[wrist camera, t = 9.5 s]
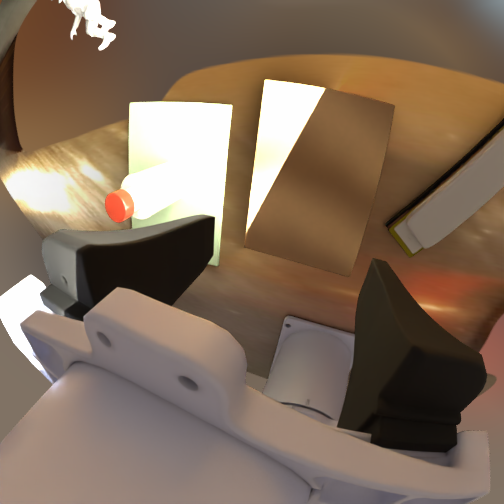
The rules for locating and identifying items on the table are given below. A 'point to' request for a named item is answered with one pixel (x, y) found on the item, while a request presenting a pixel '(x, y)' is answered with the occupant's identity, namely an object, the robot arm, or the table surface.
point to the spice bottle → (147, 192)
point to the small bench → (315, 173)
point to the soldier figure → (91, 20)
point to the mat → (184, 155)
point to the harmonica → (452, 196)
